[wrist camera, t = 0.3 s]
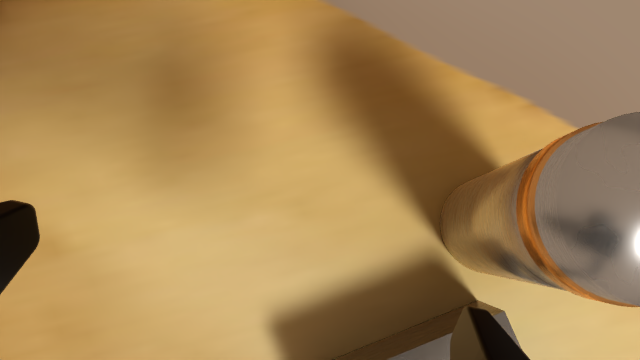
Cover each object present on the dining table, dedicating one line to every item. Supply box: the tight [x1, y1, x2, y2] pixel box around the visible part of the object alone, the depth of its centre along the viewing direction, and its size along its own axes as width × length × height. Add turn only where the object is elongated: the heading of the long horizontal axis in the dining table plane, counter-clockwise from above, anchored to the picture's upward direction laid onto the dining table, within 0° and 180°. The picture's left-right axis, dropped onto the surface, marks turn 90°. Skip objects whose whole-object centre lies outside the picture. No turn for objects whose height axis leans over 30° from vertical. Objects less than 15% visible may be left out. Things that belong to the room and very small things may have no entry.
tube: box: [440, 112, 640, 307], centre depth 17 cm, size 5×5×12 cm
